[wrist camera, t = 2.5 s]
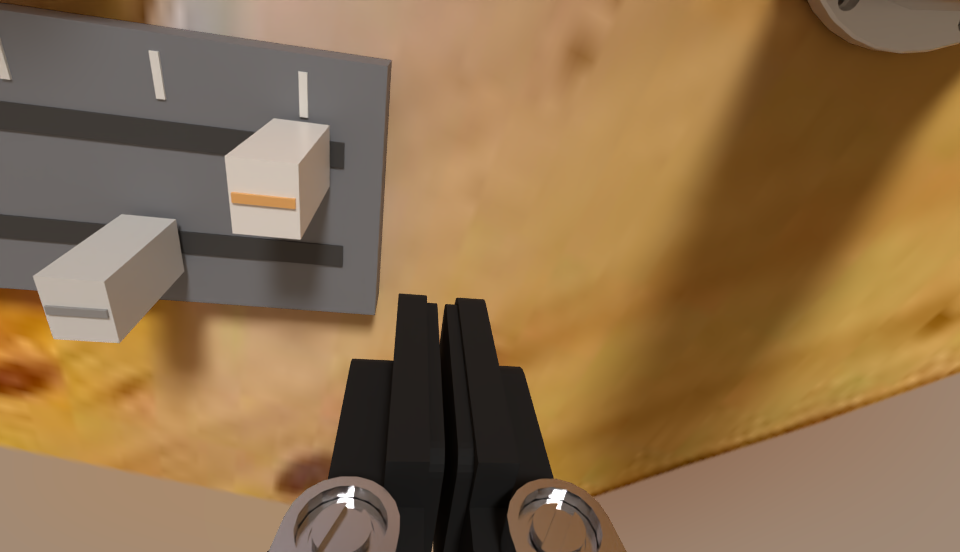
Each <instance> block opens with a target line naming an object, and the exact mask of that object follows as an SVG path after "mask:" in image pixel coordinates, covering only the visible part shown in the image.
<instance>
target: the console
mask: <svg viewBox="0 0 960 552" xmlns="http://www.w3.org/2000/svg"><path fill="white" fill-rule="evenodd" d="M391 63H392V60H386V59H380V58H373V57H366V56H359V55H353V54H346V53H339V52H332V51H325V50H319V49H312V48H305V47H298V46H291V45H285V44H278V43H271V42H264V41H258V40H251V39H244V38H237V37H230V36H224V35H217V34H210V33H203V32H196V31H190V30H183V29H176V28H169V27H163V26H156V25H149V24H142V23H135V22H129V21H122V20H115V19H108V18H102V17H95V16H88V15H81V14H74V13H68V12H61V11H54V10H47V9H40V8H34V7H27V6H20V5H13V4H7V3H0V288H10V289H24V290H37V287H36V284H35V281H34V278H33V276H34V275H35V274H37V273H38V272H40V271H41V270H42V269H44V268H45V267H47V266H48V265H50V264H51V263H52V262H54V261H55V260H57V259H58V258H60V257H61V256H62V255H64V254H65V253H67V252H68V251H70V250H71V249H72V248H74V247H75V246H77V245H78V244H80V243H81V242H82V241H84V240H85V239H87V238H88V237H90V236H91V235H92V234H94V233H95V232H97V231H98V230H100V229H101V228H102V227H104V226H105V225H107V224H108V223H110V222H111V221H112V220H114V219H115V218H117V217H118V216H120V215H121V214H126V215H136V216H147V217H157V218H168V219H176V223H177V229H178V235H179V241H180V248H181V254H182V260H183V266H184V272H183V273H182V274H181V276H180V277H179V278H178V279H177V280H176V281H175V282H174V283H173V284H172V286H171V287H170V288H169V289H168V290H167V291H166V292H165V293H164V294H163V296H162V297H161V298H160V299H161V300H175V301H189V302H203V303H216V304H230V305H244V306H257V307H271V308H285V309H299V310H312V311H326V312H340V313H353V314H367V315H375V311H376V305H377V300H378V294H379V279H380V261H381V243H382V225H383V207H384V189H385V171H386V153H387V135H388V117H389V99H390V81H391ZM274 118H276V119H284V120H292V121H300V122H308V123H316V124H323V125H330V186H329V188H328V190H327V192H326V194H325V196H324V198H323V199H322V201H321V203H320V205H319V207H318V209H317V210H316V212H315V214H314V216H313V218H312V220H311V222H310V223H309V225H308V227H307V229H306V231H305V233H304V234H303V236H302V238H301V240H298V239H287V238H277V237H266V236H255V235H244V234H233V233H232V223H231V213H230V204H229V194H228V185H227V175H226V165H225V155H227V154H228V153H229V152H231V151H232V150H233V149H234V148H236V147H237V146H238V145H240V144H241V143H242V142H244V141H245V140H246V139H248V138H249V137H250V136H251V135H253V134H254V133H255V132H257V131H258V130H259V129H261V128H262V127H263V126H264V125H266V124H267V123H268V122H270V121H271V120H272V119H274Z"/></svg>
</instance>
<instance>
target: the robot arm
mask: <svg viewBox="0 0 960 552" xmlns="http://www.w3.org/2000/svg"><path fill="white" fill-rule="evenodd" d="M807 1H808V3H809V5H810V7H811V9H812V11H813V12H814V13H815V14H816V15H817V17H818V18H819V19H820V20H821V21H822V22H823V23H824V25H825V26H826V27H827V28H828V29H829V30H830V31H832V32H833V33H835V34H836V35H838V36H839V37H841V38H842V39H844V40H846V41H847V42H849V43H851V44H854V45H858V46H861V47H864V48H867V49H870V50H876V51H886V52H894V53H917V52H929V51H933V50H937V49H941V48H945V47H949V46H953V45H956V44H959V43H960V0H807ZM432 544H433V552H626V550H625V548H624V546H623V544H622V542H621V540H620V538H619V536H618V535H617V533H616V531H615V529H614V527H613V525H612V523H611V521H610V519H609V517H608V516H607V514H606V513H605V512H604V510H603V508H602V507H601V505H600V504H599V503H598V502H597V501H596V500H595V499H594V498H593V497H592V496H591V495H590V494H588V493H587V492H586V491H585V490H583V489H581V488H579V487H577V486H576V485H574V484H572V483H569V482H566V481H562V480H558V479H554V478H553V475H552V471H551V467H550V464H549V460H548V457H547V453H546V450H545V446H544V442H543V439H542V435H541V432H540V428H539V424H538V421H537V417H536V414H535V410H534V407H533V403H532V399H531V396H530V392H529V389H528V385H527V382H526V378H525V374H524V372H523V369H522V368H521V367H512V366H499V363H498V359H497V354H496V349H495V345H494V340H493V335H492V331H491V326H490V322H489V317H488V312H487V308H486V303H485V300H483V299H469V298H456V301H455V305H451V304H446V305H445V308H444V315H443V323H442V330H441V338H440V344H439V326H438V308H437V304H436V303H427V296H426V295H412V294H399V298H398V311H397V324H396V336H395V349H394V361H389V360H368V359H352V361H351V364H350V369H349V374H348V379H347V384H346V390H345V395H344V400H343V405H342V410H341V415H340V420H339V425H338V430H337V436H336V441H335V446H334V451H333V456H332V461H331V466H330V471H329V476H328V480H324V481H322V482H320V483H318V484H316V485H314V486H312V487H310V488H309V489H307V490H306V491H305V492H304V493H302V494H301V495H300V496H299V497H298V498H297V499H296V500H295V501H294V502H293V503H292V505H291V506H290V508H289V510H288V511H287V513H286V514H285V516H284V518H283V520H282V523H281V525H280V527H279V530H278V532H277V534H276V536H275V538H274V541H273V543H272V545H271V547H270V550H269V551H267V552H431V551H432Z"/></svg>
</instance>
